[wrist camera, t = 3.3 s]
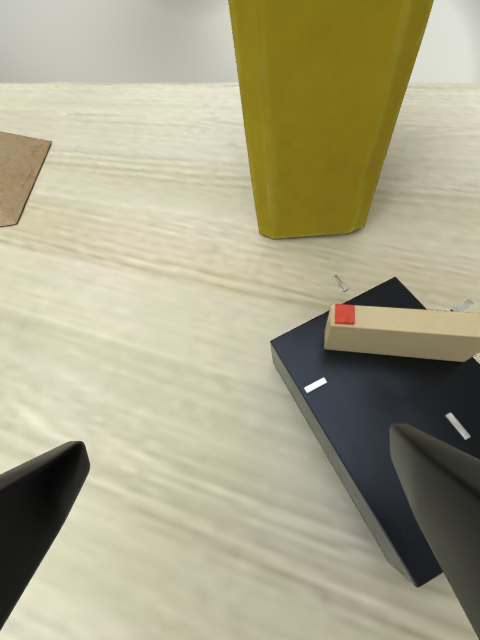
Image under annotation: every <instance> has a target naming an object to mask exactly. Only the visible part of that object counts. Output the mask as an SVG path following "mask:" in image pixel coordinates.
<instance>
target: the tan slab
mask: <svg viewBox="0 0 480 640" xmlns="http://www.w3.org/2000/svg"><path fill="white" fill-rule="evenodd" d="M324 349H327V350H338V351H349V352H360V353H371V354H382V355H393V356H403V357H414V358H425V359H436V360H447V361H458V362H465V361H466V360H468V359H469V358H471V357H473V356H474V355H476V354H477V353H479V352H480V313H469V312H453V311H437V310H421V309H405V308H389V307H373V306H357V305H343V304H331V308H330V312H329V316H328V320H327V324H326V328H325V338H324Z"/></svg>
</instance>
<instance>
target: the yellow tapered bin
mask: <svg viewBox="0 0 480 640" xmlns="http://www.w3.org/2000/svg"><path fill="white" fill-rule="evenodd" d="M228 1H229V9H230V17H231V25H232V33H233V40H234V48H235V56H236V63H237V71H238V79H239V87H240V95H241V103H242V110H243V119H244V127H245V135H246V142H247V150H248V157H249V165H250V172H251V180H252V187H253V194H254V201H255V207H256V214H257V220H258V227H259V233H260V234H263V235H265V236H268V237H270V238H272V239H278V238H291V237H304V236H318V235H331V234H344V233H351V232H353V231H355V230H357V229H360V228H362V227H364V225H365V222H366V218H367V215H368V212H369V208H370V205H371V202H372V199H373V195H374V192H375V189H376V185H377V182H378V179H379V176H380V172H381V169H382V166H383V163H384V159H385V156H386V153H387V150H388V146H389V143H390V140H391V137H392V133H393V130H394V127H395V124H396V120H397V117H398V114H399V111H400V107H401V104H402V101H403V98H404V95H405V92H406V89H407V85H408V82H409V79H410V76H411V73H412V70H413V67H414V64H415V60H416V57H417V54H418V51H419V48H420V44H421V42H422V38H423V35H424V32H425V28H426V25H427V22H428V18H429V15H430V11H431V8H432V4H433V1H434V0H228Z"/></svg>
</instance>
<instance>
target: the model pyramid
mask: <svg viewBox="0 0 480 640" xmlns="http://www.w3.org/2000/svg"><path fill="white" fill-rule="evenodd" d="M50 144H51V141H47V140H41V139H36V138H31V137H26V136H21V135H16V134H11V133H6V132H0V226H6V225H12V224H16V223H17V221H18V218H19V216H20V214H21V211H22V209H23V207H24V204H25V202H26V200H27V197H28V195H29V193H30V190H31V188H32V186H33V183H34V181H35V179H36V176H37V174H38V172H39V169H40V167H41V165H42V162H43V160H44V158H45V155H46V153H47V151H48V148H49V146H50Z"/></svg>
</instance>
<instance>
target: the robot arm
mask: <svg viewBox="0 0 480 640" xmlns="http://www.w3.org/2000/svg"><path fill="white" fill-rule="evenodd" d="M389 442H390V456H391V460H392V462H393V465H394V467H395V470H396V472H397V475H398V477H399V480H400V482H401V485H402V487H403V490H404V492H405V495H406V497H407V499H408V502H409V504H410V507H411V509H412V512H413V514H414V516H415V518H416V520H417V522H418V524H419V526H420V528H421V530H422V532H423V534H424V536H425V538H426V540H427V542H428V544H429V545H430V547H431V549H432V551H433V553H434V555H435V557H436V559H437V561H438V562H439V564H440V566H441V568H442V570H443V572H444V574H445V576H446V578H447V580H448V581H449V583H450V585H451V587H452V589H453V591H454V593H455V595H456V597H457V598H458V600H459V602H460V604H461V606H462V608H463V610H464V612H465V614H466V616H467V617H468V619H469V621H470V623H471V625H472V627H473V629H474V631H475V633H476V634H477V636H478V638H479V640H480V460H479V459H477V458H475V457H473V456H471V455H469V454H467V453H465V452H463V451H461V450H459V449H457V448H455V447H453V446H451V445H449V444H447V443H445V442H443V441H441V440H439V439H437V438H435V437H433V436H431V435H429V434H427V433H425V432H423V431H421V430H419V429H417V428H415V427H413V426H411V425H409V424H406V423H401V424H391V425H390V428H389ZM89 470H90V462H89V458H88V454H87V451H86V447H85V444H84V443H83V442H82V441H70V442H67V443H65V444H63V445H61V446H59V447H56V448H54V449H52V450H50V451H48V452H46V453H44V454H42V455H40V456H38V457H36V458H34V459H32V460H30V461H28V462H25V463H23V464H21V465H19V466H17V467H15V468H13V469H11V470H9V471H7V472H5V473H3V474H1V475H0V630H1V629H2V627H3V625H4V624H5V622H6V620H7V619H8V617H9V615H10V614H11V612H12V610H13V609H14V607H15V605H16V604H17V602H18V600H19V598H20V597H21V595H22V593H23V592H24V590H25V588H26V587H27V585H28V583H29V582H30V580H31V578H32V577H33V575H34V573H35V572H36V570H37V568H38V566H39V565H40V563H41V561H42V560H43V558H44V556H45V555H46V553H47V551H48V550H49V548H50V546H51V545H52V543H53V541H54V540H55V538H56V536H57V534H58V533H59V531H60V529H61V528H62V526H63V524H64V522H65V520H66V518H67V516H68V514H69V512H70V510H71V508H72V506H73V504H74V502H75V500H76V498H77V496H78V494H79V492H80V490H81V488H82V486H83V484H84V482H85V480H86V477H87V475H88V473H89Z"/></svg>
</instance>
